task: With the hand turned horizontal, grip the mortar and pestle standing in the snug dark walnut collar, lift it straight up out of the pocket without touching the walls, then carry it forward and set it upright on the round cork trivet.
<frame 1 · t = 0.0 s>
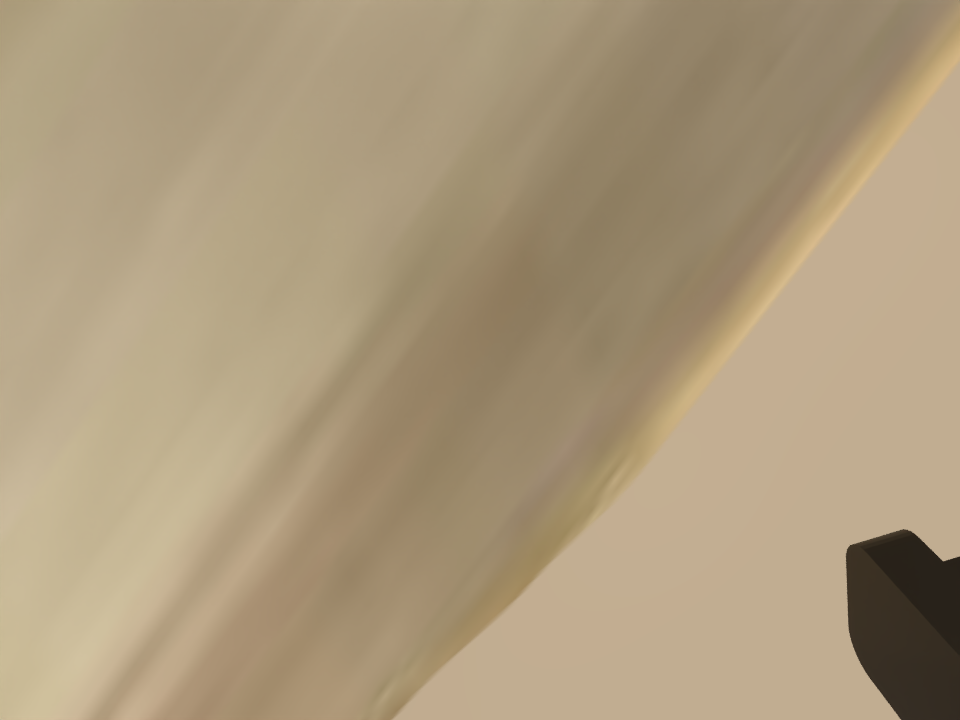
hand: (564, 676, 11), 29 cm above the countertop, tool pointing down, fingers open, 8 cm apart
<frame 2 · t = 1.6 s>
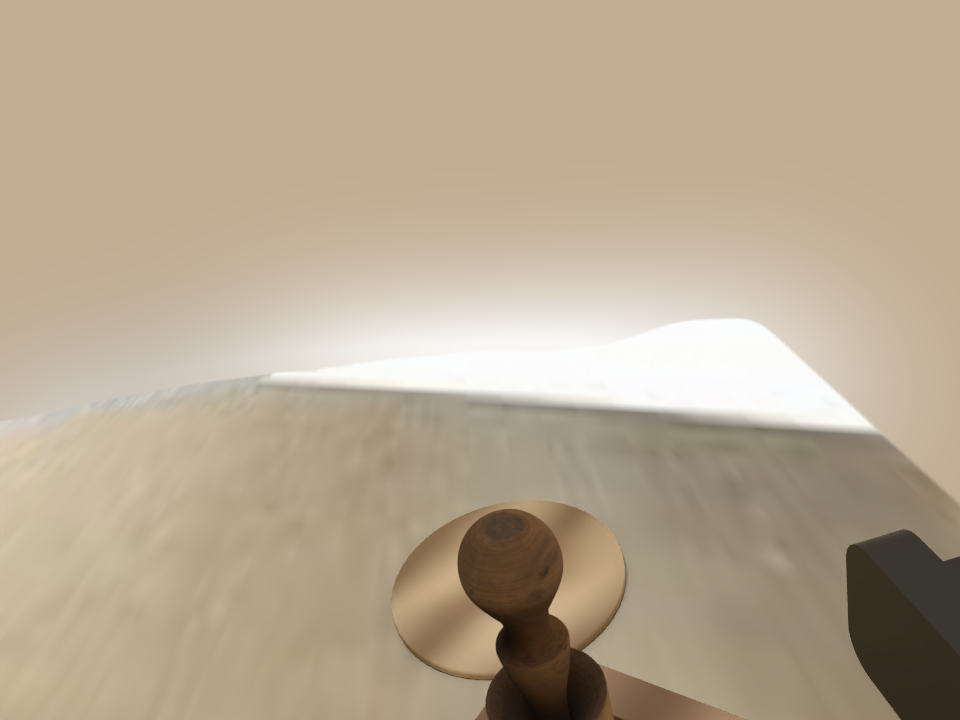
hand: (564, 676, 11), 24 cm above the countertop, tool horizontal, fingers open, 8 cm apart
cork trivet: (508, 584, 48), on the countertop
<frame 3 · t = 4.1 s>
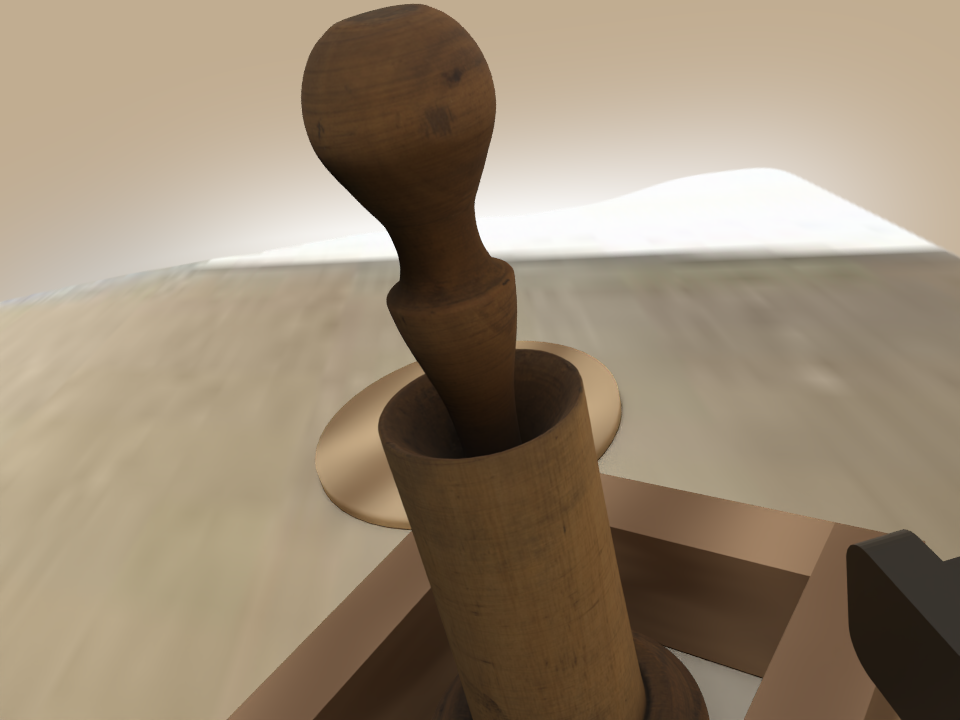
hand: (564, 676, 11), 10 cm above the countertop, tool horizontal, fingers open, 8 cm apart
cork trivet: (468, 427, 37), on the countertop
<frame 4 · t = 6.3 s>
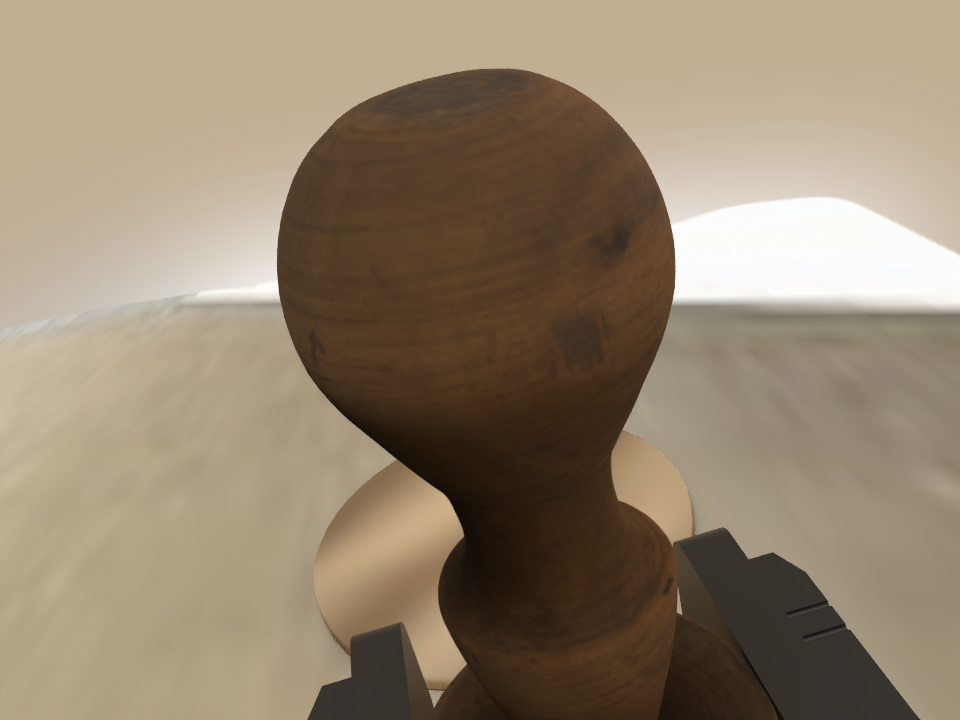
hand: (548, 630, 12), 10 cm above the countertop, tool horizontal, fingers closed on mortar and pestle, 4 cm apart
cork trivet: (501, 536, 30), on the countertop
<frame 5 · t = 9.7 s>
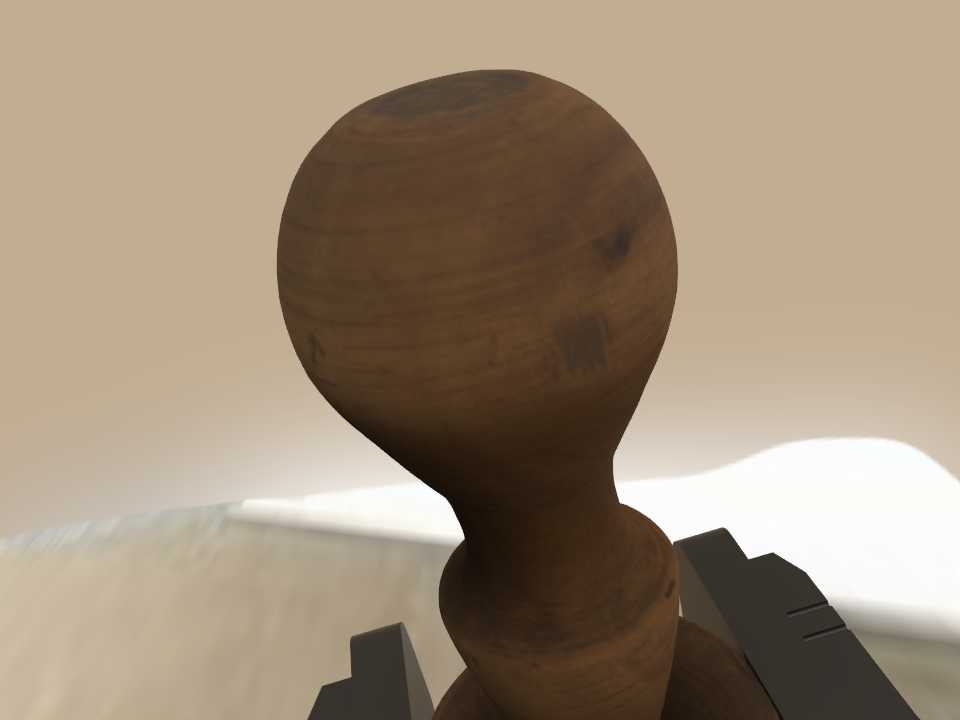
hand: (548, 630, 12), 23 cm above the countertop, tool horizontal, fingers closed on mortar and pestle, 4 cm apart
when the fingers open (12 cm above the countertop, at t = 13.3 s): mortar and pestle drops 1 cm, resting on cork trivet.
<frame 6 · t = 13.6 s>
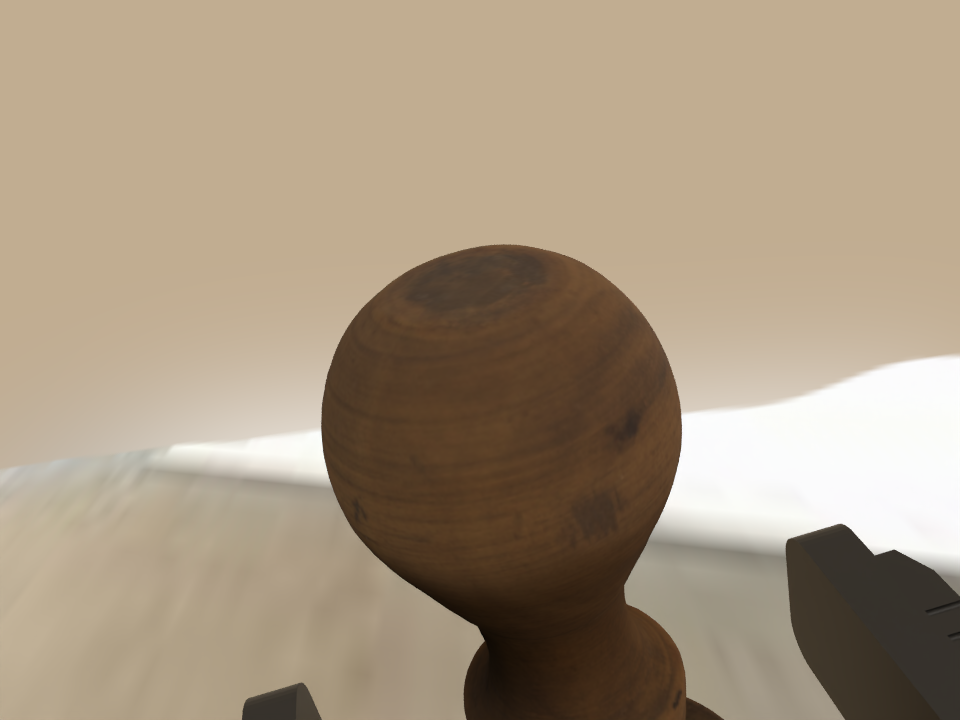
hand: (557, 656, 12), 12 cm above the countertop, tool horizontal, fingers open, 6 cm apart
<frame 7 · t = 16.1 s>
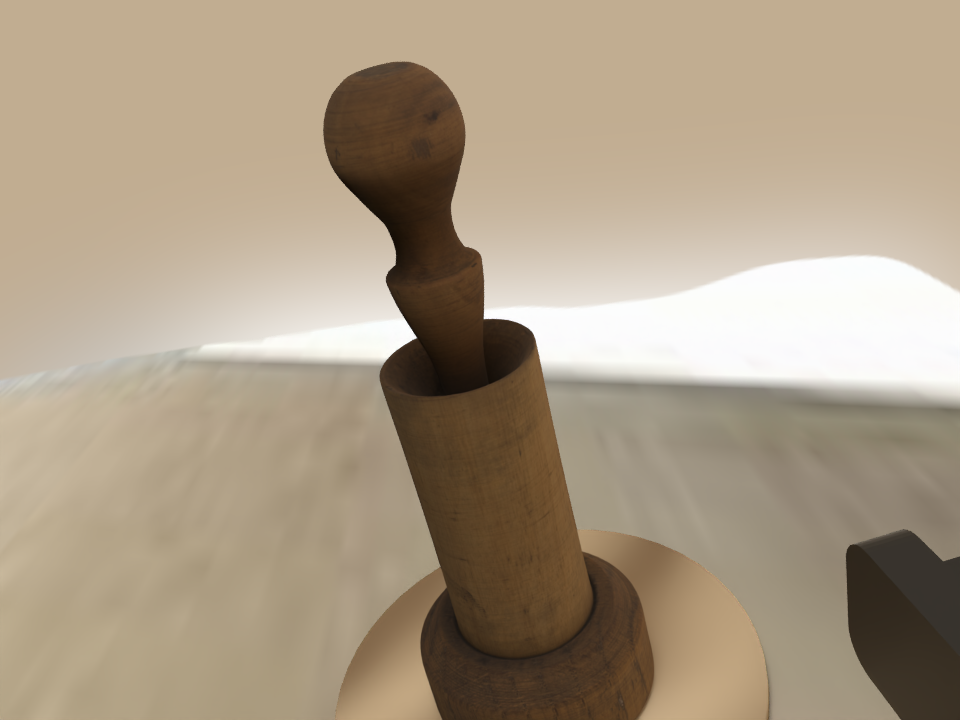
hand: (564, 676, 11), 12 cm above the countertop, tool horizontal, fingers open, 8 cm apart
mortar and pestle: (544, 679, 26), resting on cork trivet
cork trivet: (546, 685, 26), on the countertop
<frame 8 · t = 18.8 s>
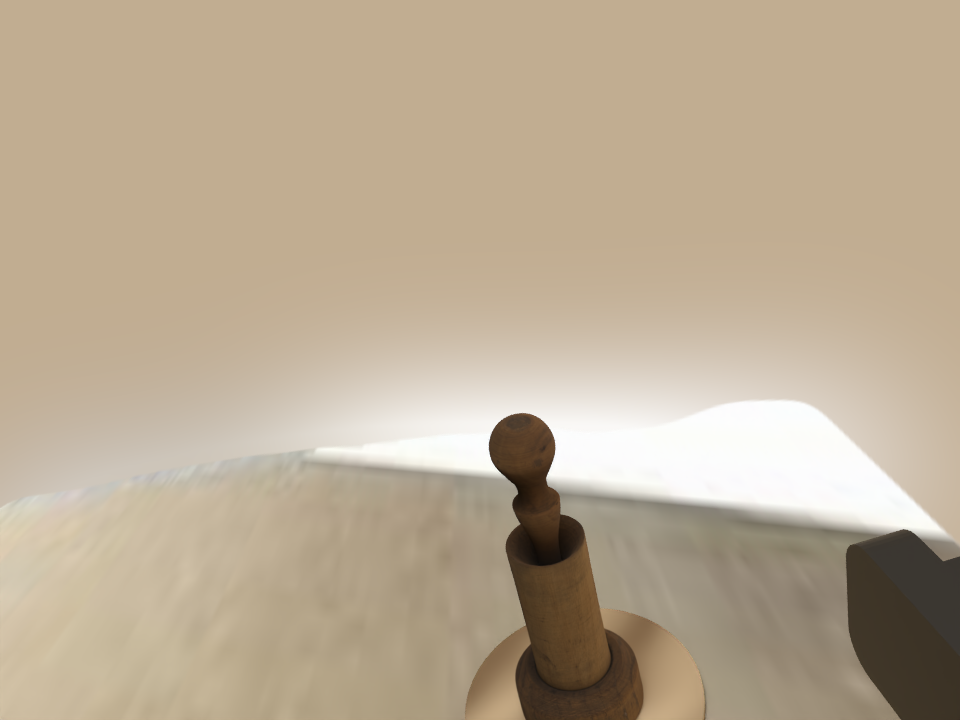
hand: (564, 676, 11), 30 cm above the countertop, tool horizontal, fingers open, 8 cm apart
mortar and pestle: (582, 700, 47), resting on cork trivet
cork trivet: (583, 704, 47), on the countertop
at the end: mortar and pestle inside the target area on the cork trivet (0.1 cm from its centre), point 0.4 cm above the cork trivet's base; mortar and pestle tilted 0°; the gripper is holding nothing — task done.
